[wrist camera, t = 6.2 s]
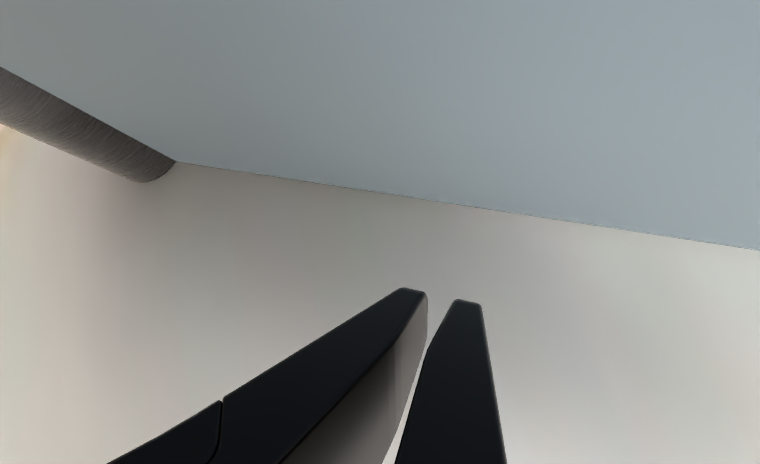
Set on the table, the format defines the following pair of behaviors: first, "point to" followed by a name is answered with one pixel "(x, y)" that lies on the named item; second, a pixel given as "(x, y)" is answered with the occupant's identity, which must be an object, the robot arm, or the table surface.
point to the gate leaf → (433, 98)
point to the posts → (76, 131)
